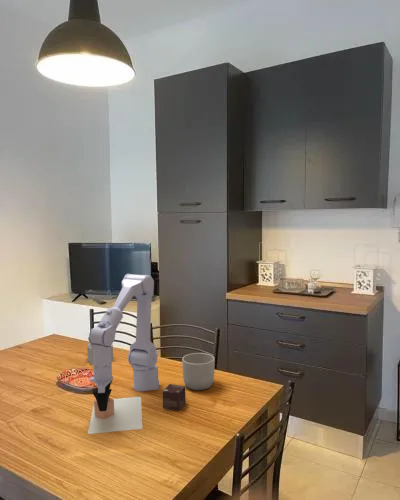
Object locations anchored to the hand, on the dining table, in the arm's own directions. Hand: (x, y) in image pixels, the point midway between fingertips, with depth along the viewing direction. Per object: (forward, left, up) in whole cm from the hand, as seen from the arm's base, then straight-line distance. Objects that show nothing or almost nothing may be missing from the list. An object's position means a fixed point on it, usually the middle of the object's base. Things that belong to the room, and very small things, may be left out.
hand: (103, 405), depth 130 cm
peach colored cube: (0, 0, -3) cm, 3 cm away
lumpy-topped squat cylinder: (+6, -56, -5) cm, 57 cm away
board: (-4, 0, -4) cm, 6 cm away
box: (-23, -2, -5) cm, 24 cm away
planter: (-34, -19, -5) cm, 39 cm away
